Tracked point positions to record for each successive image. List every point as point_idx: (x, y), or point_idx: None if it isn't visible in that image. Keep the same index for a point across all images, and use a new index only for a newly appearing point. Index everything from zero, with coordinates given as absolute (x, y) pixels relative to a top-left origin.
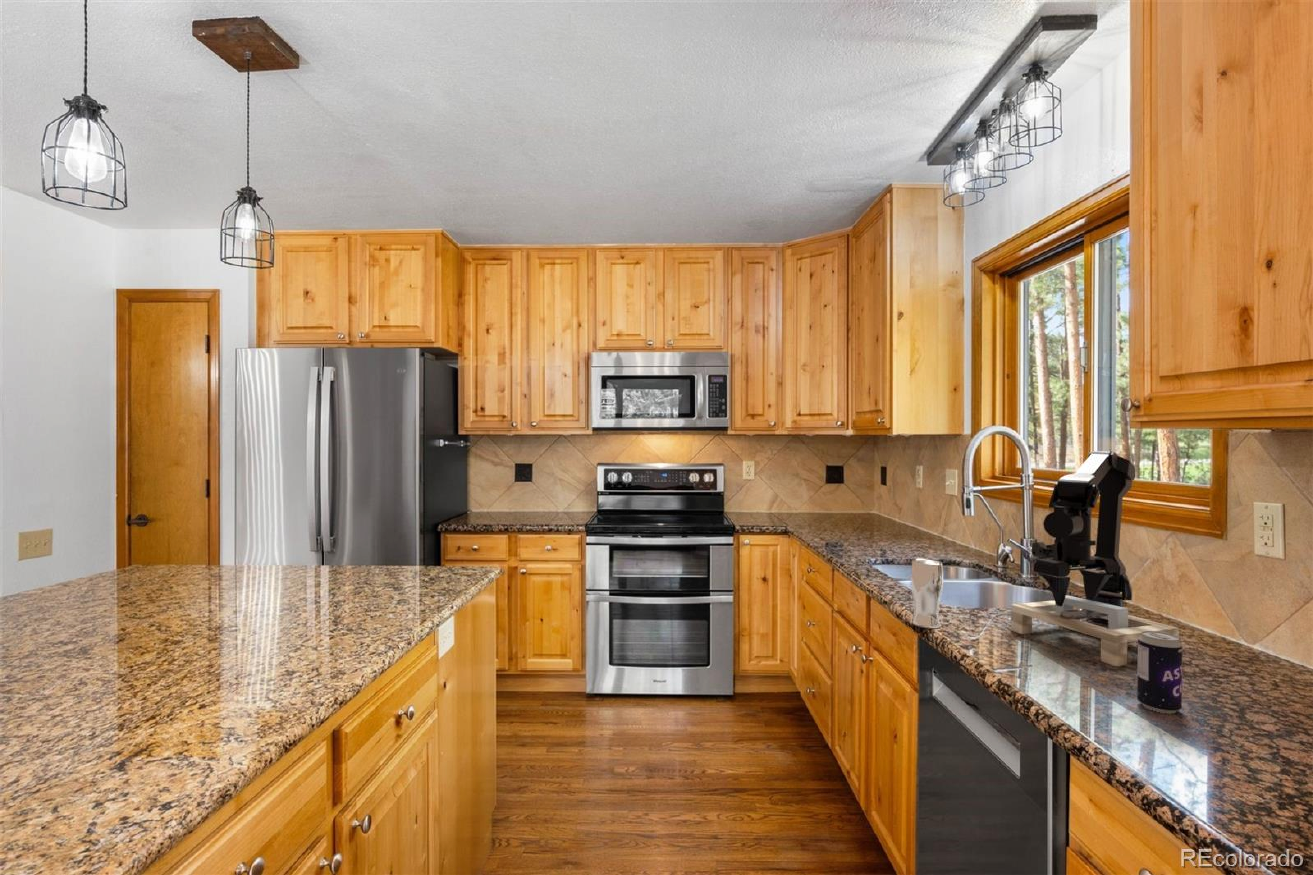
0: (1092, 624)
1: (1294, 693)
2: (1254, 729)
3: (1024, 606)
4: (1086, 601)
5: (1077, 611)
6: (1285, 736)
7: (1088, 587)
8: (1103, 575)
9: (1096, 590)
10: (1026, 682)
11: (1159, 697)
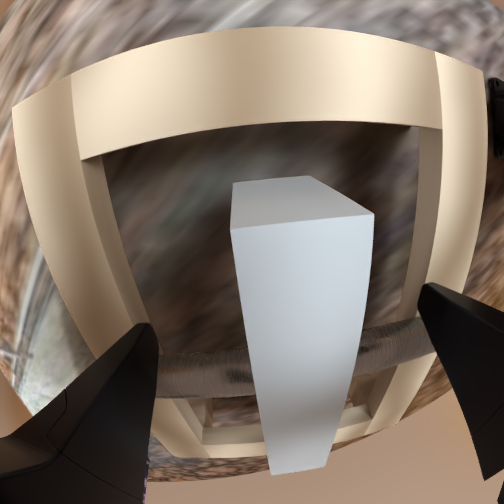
0: (183, 420)
1: (340, 446)
2: (188, 472)
3: (44, 152)
4: (289, 413)
5: (188, 398)
6: (202, 477)
7: (483, 352)
8: (487, 474)
9: (453, 388)
10: (20, 383)
11: None
